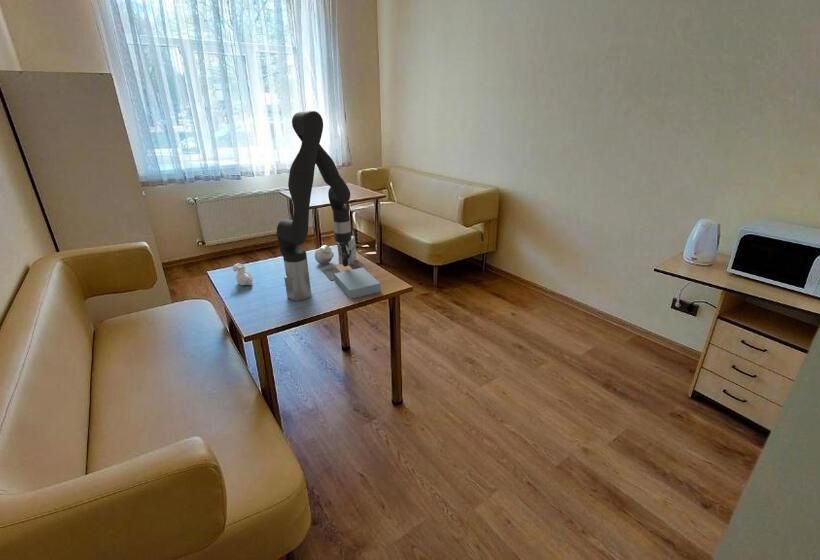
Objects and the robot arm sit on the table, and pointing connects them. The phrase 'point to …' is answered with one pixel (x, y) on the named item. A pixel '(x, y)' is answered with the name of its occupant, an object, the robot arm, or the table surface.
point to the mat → (331, 271)
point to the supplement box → (353, 251)
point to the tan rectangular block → (342, 268)
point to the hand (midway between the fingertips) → (345, 265)
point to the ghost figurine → (324, 255)
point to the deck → (357, 283)
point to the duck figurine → (242, 275)
